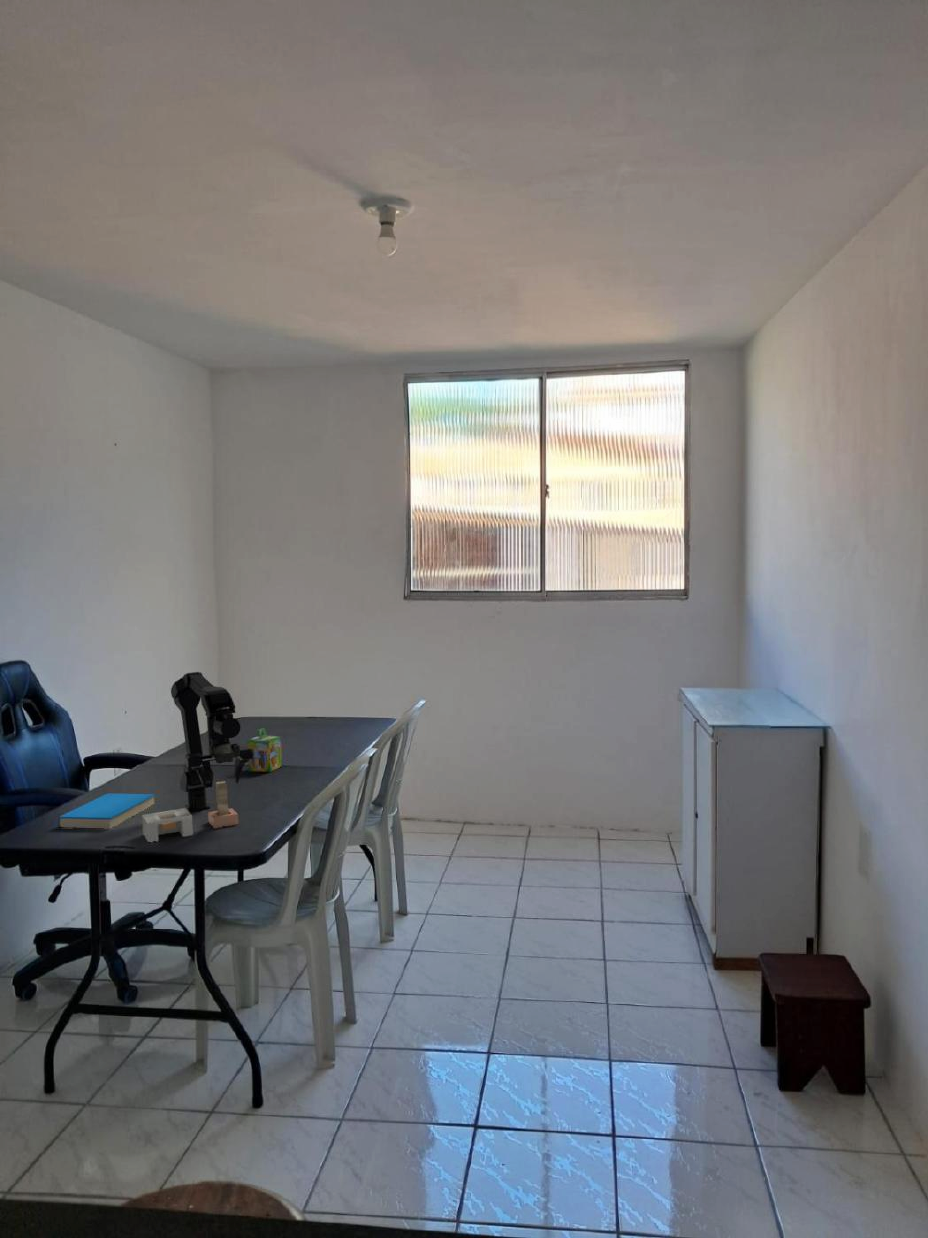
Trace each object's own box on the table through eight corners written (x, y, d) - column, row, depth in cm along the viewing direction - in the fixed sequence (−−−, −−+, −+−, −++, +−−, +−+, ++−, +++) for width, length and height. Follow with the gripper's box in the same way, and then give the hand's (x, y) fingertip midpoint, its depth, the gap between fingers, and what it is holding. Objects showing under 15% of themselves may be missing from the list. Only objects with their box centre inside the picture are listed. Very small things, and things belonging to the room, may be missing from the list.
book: (155, 794, 288) (111, 816, 264) (155, 807, 289) (112, 831, 264) (105, 793, 292) (57, 815, 267) (106, 806, 292) (58, 830, 267)
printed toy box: (270, 773, 325) (267, 732, 324) (247, 771, 328) (245, 731, 327) (283, 766, 334) (281, 726, 332) (261, 765, 337) (259, 726, 335)
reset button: (160, 826, 257) (160, 821, 256) (173, 824, 258) (173, 819, 258) (162, 830, 253) (162, 824, 253) (176, 827, 255) (175, 822, 255)
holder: (208, 822, 268) (208, 812, 267) (232, 818, 271) (231, 808, 271) (214, 828, 261) (213, 818, 261) (238, 824, 265) (237, 814, 264)
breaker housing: (143, 834, 258) (141, 815, 258) (186, 827, 264) (185, 808, 263) (148, 843, 250) (147, 823, 249) (193, 835, 255) (192, 816, 255)
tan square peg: (217, 823, 267) (215, 782, 266) (226, 821, 268) (224, 781, 267) (220, 825, 264) (217, 784, 263) (229, 823, 266) (226, 783, 265)
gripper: (190, 742, 253) (194, 797, 254) (257, 733, 261) (260, 786, 263) (182, 735, 262) (186, 788, 264) (247, 727, 271) (250, 778, 272)
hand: (221, 785), depth 265 cm, fingers open, 9 cm apart
